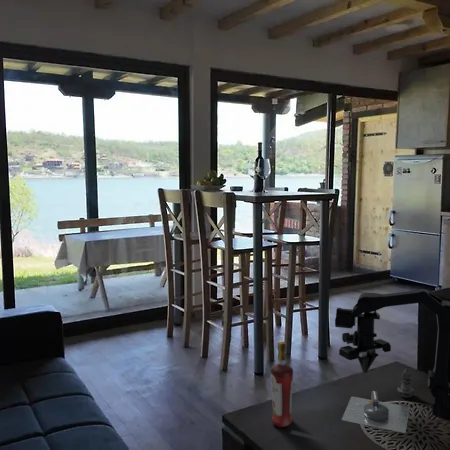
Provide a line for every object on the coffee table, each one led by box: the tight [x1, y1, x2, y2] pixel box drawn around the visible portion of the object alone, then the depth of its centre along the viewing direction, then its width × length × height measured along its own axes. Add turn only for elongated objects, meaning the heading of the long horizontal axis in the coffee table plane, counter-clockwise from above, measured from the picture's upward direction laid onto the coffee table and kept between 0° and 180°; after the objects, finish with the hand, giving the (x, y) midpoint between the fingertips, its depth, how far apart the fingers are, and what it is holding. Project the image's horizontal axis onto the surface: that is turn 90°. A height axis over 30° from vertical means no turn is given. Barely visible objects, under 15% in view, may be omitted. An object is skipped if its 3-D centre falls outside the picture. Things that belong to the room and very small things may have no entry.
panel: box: [341, 396, 411, 434], centre depth 163 cm, size 20×18×1 cm
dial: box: [364, 390, 389, 421], centre depth 164 cm, size 14×8×4 cm, turn 167°
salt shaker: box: [397, 367, 415, 399], centre depth 174 cm, size 6×6×12 cm
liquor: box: [270, 340, 294, 428], centre depth 158 cm, size 7×7×28 cm
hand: (364, 372), depth 169 cm, fingers closed
